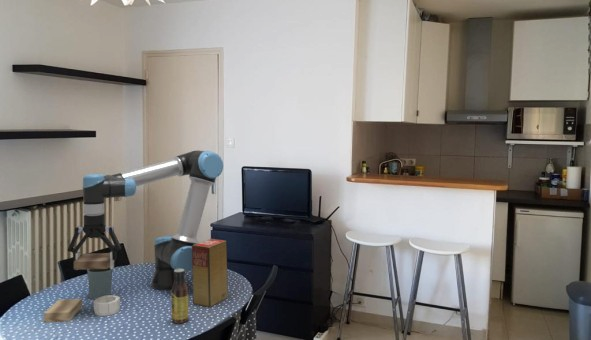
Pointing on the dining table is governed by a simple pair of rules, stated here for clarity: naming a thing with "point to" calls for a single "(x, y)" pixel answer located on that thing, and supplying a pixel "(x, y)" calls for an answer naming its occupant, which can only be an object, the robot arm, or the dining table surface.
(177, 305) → the sauce bottle
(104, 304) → the bowl
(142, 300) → the dining table surface
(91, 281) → the grey-green cup
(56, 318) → the light wooden block
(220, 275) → the food packaging
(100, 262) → the cover board
